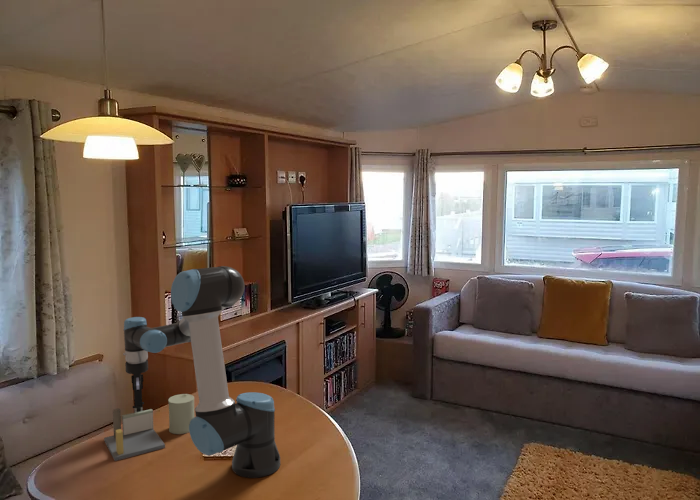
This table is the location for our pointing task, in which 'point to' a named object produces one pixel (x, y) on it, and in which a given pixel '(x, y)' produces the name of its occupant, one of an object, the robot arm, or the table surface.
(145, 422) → the white framed panel
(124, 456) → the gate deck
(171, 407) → the can
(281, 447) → the table surface
